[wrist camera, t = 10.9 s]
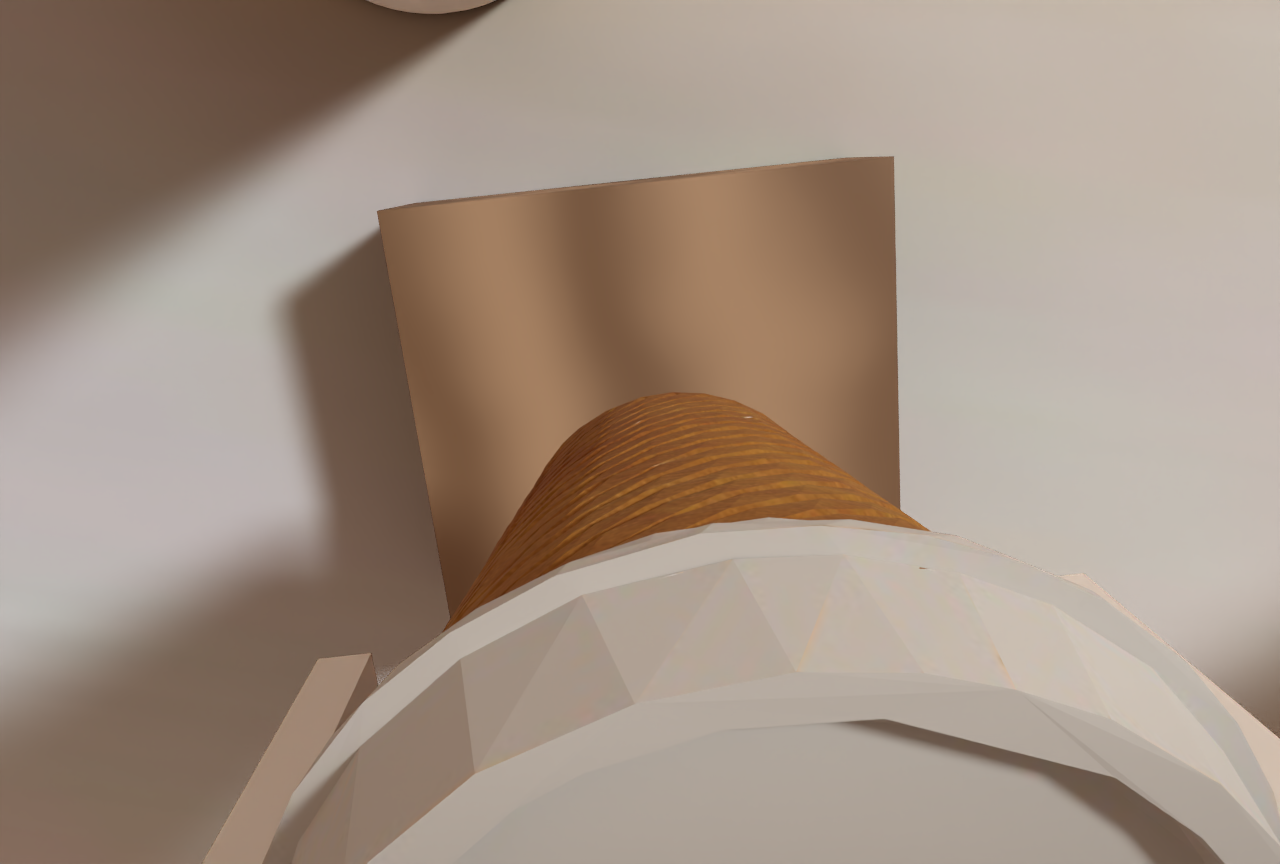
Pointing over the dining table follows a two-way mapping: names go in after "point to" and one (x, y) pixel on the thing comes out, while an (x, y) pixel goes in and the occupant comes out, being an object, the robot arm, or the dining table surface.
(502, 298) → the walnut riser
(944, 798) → the disposable coffee cup
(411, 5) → the speaker
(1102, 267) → the dining table surface
